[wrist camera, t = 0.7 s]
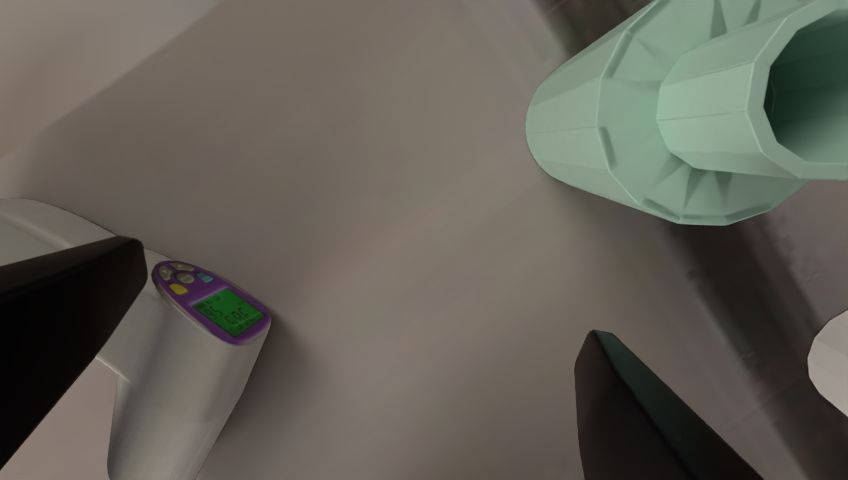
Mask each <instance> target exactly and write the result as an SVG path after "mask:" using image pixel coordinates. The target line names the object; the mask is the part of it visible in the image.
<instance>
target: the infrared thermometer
mask: <svg viewBox="0 0 848 480" xmlns="http://www.w3.org/2000/svg"><path fill="white" fill-rule="evenodd" d="M114 236H116V235H114V234H113V233H111V232H109V231H107V230H105V229H103V228H101V227H99V226H97V225H95V224H93V223H91V222H89V221H87V220H85V219H83V218H81V217H79V216H77V215H75V214H73V213H70V212H68V211H65V210H63V209H60V208H58V207H55V206H53V205H49V204H46V203H42V202H39V201H35V200H29V199H22V198H11V199H0V266H3V265H7V264H11V263H14V262H18V261H22V260H26V259H30V258H34V257H37V256H41V255H45V254H49V253H53V252H57V251H61V250H64V249H68V248H72V247H76V246H80V245H84V244H87V243H91V242H95V241H99V240H103V239H107V238H110V237H114ZM144 252H145V258H146V264H147V270H148V279H147V282H146V285H145V287H144V288H143V290H142V291H141V293H140V294H139V295H138V297H137V298H136V300H135V301H134V303H133V304H132V306H131V307H130V309H129V310H128V312H127V313H126V315H125V316H124V318H123V319H122V321H121V322H120V324H119V325H118V327H117V328H116V330H115V331H114V332H113V334H112V335H111V337H110V338H109V340H108V341H107V342H106V344H105V345H104V347H103V348H102V349H101V350H100V352H99V353H98V354H97V355H96V358H97V359H98V360H100V361H101V362H103V363H104V364H105V365H107V366H108V367H110V368H111V369H112V370H114V371H115V372H116V373H118V376H117V385H116V393H115V401H114V410H113V418H112V426H111V435H110V443H109V451H108V459H107V469H108V475H109V478H110V480H195V478H196V476H197V474H198V473H199V471H200V469H201V467H202V465H203V463H204V462H205V460H206V458H207V456H208V454H209V452H210V450H211V449H212V447H213V445H214V443H215V441H216V439H217V437H218V436H219V434H220V432H221V430H222V428H223V427H224V425H225V423H226V421H227V420H228V418H229V416H230V414H231V412H232V411H233V409H234V407H235V405H236V403H237V402H238V400H239V398H240V396H241V395H242V392H243V390H244V387H245V385H246V383H247V380H248V378H249V376H250V373H251V371H252V369H253V366H254V364H255V362H256V359H257V357H258V355H259V352H260V350H261V347H262V345H263V343H264V340H265V338H266V336H267V333H268V331H269V329H270V326H271V316H270V313H269V312H268V311H267V309H266V308H265V307H264V306H263V305H261V304H260V303H259V302H258V301H256V300H255V299H254V298H252V297H251V296H250V295H248V294H247V293H245V292H244V291H242V290H241V289H239V288H238V287H236V286H235V285H233V284H231V283H230V282H228V281H226V280H225V279H223V278H221V277H219V276H217V275H215V274H213V273H211V272H209V271H206V270H204V269H202V268H199V267H197V266H194V265H191V264H188V263H184V262H180V261H173V260H171V259H169V258H167V257H165V256H163V255H161V254H159V253H157V252H154V251H151V250H147V249H144Z"/></svg>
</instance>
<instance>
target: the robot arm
mask: <svg viewBox="0 0 848 480" xmlns="http://www.w3.org/2000/svg"><path fill="white" fill-rule="evenodd" d="M147 279H148V270H147V264H146V258H145V252H144V247H143V244H142V243H141V241H139V240H138V239H134V238H129V237H124V236H114V237H110V238H107V239H103V240H99V241H95V242H91V243H87V244H84V245H80V246H76V247H72V248H68V249H64V250H61V251H57V252H53V253H49V254H45V255H41V256H37V257H34V258H30V259H26V260H22V261H18V262H14V263H11V264H7V265H3V266H0V470H1V469H2V468H3V467H4V465H5V464H6V463H7V462H8V461H9V459H10V458H11V457H12V456H13V455H14V453H15V452H16V451H17V450H18V449H19V447H20V446H21V445H22V444H23V443H24V441H25V440H26V439H27V438H28V437H29V436H30V434H31V433H32V432H33V431H34V430H35V428H36V427H37V426H38V425H39V424H40V422H41V421H42V420H43V419H44V418H45V416H46V415H47V414H48V413H49V412H50V410H51V409H52V408H53V407H54V406H55V404H56V403H57V402H58V401H59V400H60V399H61V397H62V396H63V395H64V394H65V393H66V391H67V390H68V389H69V388H70V387H71V385H72V384H73V383H74V382H75V381H76V379H77V378H78V377H79V376H80V375H81V373H82V372H83V371H84V370H85V369H86V367H87V366H88V365H89V364H90V363H91V362H92V360H93V359H94V358H95V357H96V355H97V354H98V353H99V352H100V350H101V349H102V348H103V347H104V345H105V344H106V342H107V341H108V340H109V338H110V337H111V335H112V334H113V332H114V331H115V330H116V328H117V327H118V325H119V324H120V322H121V321H122V319H123V318H124V316H125V315H126V313H127V312H128V310H129V309H130V307H131V306H132V304H133V303H134V301H135V300H136V298H137V297H138V295H139V294H140V293H141V291H142V290H143V288H144V287H145V285H146V282H147ZM574 373H575V391H576V408H577V426H578V440H579V448H580V455H581V461H582V466H583V472H584V478H585V480H764V479H763V477H762V476H761V475H760V474H758V473H757V472H756V471H755V470H754V469H753V468H752V467H751V466H750V465H749V464H748V463H747V462H746V461H745V460H744V459H743V458H742V457H741V456H740V455H739V454H738V453H737V452H736V451H735V450H734V449H732V448H731V447H730V446H729V445H728V444H727V443H726V442H725V441H724V440H723V439H722V438H721V437H720V436H719V435H718V434H717V433H716V432H715V431H714V430H713V429H712V428H711V427H710V426H709V425H708V424H706V423H705V422H704V421H703V420H702V419H701V418H700V417H699V416H698V415H697V414H696V413H695V412H694V411H693V410H692V409H691V408H690V407H689V406H688V405H687V404H686V403H685V402H684V401H683V400H682V399H680V398H679V397H678V396H677V395H676V394H675V393H674V392H673V391H672V390H671V389H670V388H669V387H668V386H667V385H666V384H665V383H664V382H663V381H662V380H661V379H660V378H659V377H658V376H657V375H656V374H655V373H653V372H652V371H651V370H650V369H649V368H648V367H647V366H646V365H645V364H644V363H643V362H642V361H641V360H640V359H639V358H638V357H637V356H636V355H635V354H634V353H633V352H632V351H631V350H630V349H629V348H627V347H626V346H625V345H624V344H623V343H622V342H621V341H620V340H619V339H618V338H617V337H616V336H615V335H614V334H612V333H609V332H604V331H599V330H592V331H590V332H589V333H588V335H587V337H586V339H585V341H584V343H583V346H582V348H581V350H580V352H579V355H578V357H577V359H576V362H575V370H574Z"/></svg>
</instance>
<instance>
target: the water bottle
mask: <svg viewBox="0 0 848 480" xmlns="http://www.w3.org/2000/svg"><path fill="white" fill-rule="evenodd" d="M526 138H527V142H528V146H529V149H530V151H531V154H532V155H533V157H534V159H535V160H536V162H537V163H538V164H539V166H540V167H541V168H542V169H543V170H544V171H545V172H546V173H548V174H549V175H550V176H551V177H553V178H556V179H557V180H559V181H562V182H564V183H566V184H568V185H571V186H573V187H576V188H579V189H582V190H585V191H587V192H590V193H593V194H596V195H599V196H601V197H604V198H607V199H610V200H613V201H615V202H618V203H621V204H624V205H627V206H630V207H632V208H635V209H638V210H641V211H644V212H646V213H649V214H652V215H655V216H658V217H660V218H663V219H666V220H669V221H672V222H675V223H678V224H693V225H719V226H724V225H729V224H732V223H735V222H738V221H741V220H744V219H747V218H750V217H753V216H756V215H759V214H762V213H765V212H768V211H771V210H772V209H774V208H776V207H777V206H778V205H779V204H781V203H782V202H783V201H784V200H786V199H787V198H788V197H790V196H791V195H792V194H793V193H795V192H796V191H797V190H799V189H800V188H801V187H802V186H804V185H805V184H806V183H808V182H809V181H810V180H835V181H845V180H848V0H654V1H652V2H651V3H650V4H648V5H647V6H645V7H644V8H642V9H641V10H640V11H638V12H637V13H635V14H634V15H632V16H631V17H630V18H628V19H627V20H625V21H624V22H622V23H621V24H620V25H618V26H617V27H615V28H614V29H612V30H611V31H610V32H608V33H607V34H605V35H604V36H602V37H601V38H600V39H598V40H597V41H595V42H594V43H592V44H591V45H590V46H588V47H587V48H585V49H584V50H582V51H581V52H580V53H578V54H577V55H575V56H574V57H572V58H571V59H569V60H568V61H567V62H565V63H564V64H562V65H561V66H559V67H558V68H557V69H556V70H555V71H554V72H553V73H552V74H551V75H549V76H548V77H547V78H546V79H545V80H544V81H543V82H542V83H541V84H540V86H539V87H538V89H537V90H536V92H535V94H534V95H533V97H532V100H531V102H530V104H529V107H528V111H527V116H526Z"/></svg>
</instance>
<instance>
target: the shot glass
mask: <svg viewBox="0 0 848 480" xmlns="http://www.w3.org/2000/svg"><path fill="white" fill-rule="evenodd" d="M807 359H808V369H809V378H810V379H811V381H812V382H813V384H814V385H815V387H816V388H817V390H818V391H819V393H820V394H821V395H822V396H823V397H825V398H826V399H827V400H828V401H829V402H831V403H832V404H833V405H834V406H835V407H837V408H838V409H839V410H840V411H841V412H843V413H844V414H845V415H846V416H847V417H848V310H847V311H845V312H844V313H842V314H840V315H839V316H837V317H835V318H833V319H832V320H830V321H829V322H828V323H827V324H826V325H825V326H824V328H823V329H822V330H821V331H820V332H819V333H818V335H817V336H816V337H815V338H814V341H813V343H812V346H811V349H810V352H809V355H808V358H807Z"/></svg>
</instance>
